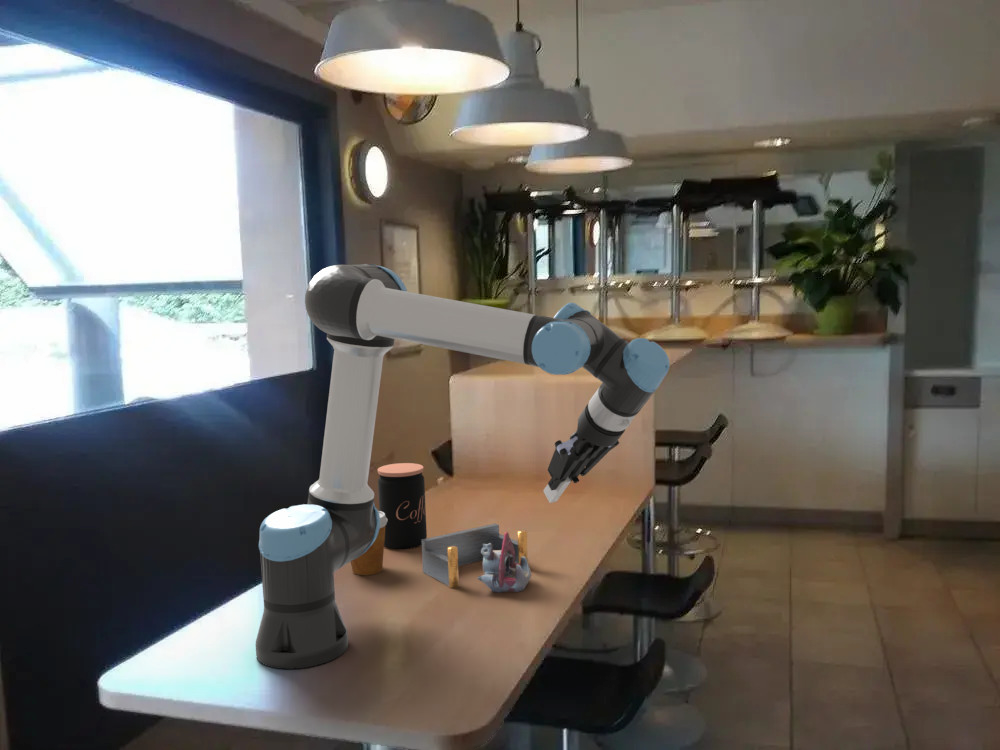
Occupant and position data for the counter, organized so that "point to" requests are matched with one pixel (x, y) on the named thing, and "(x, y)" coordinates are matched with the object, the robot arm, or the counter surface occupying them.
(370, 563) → the disposable coffee cup
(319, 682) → the counter surface
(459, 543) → the bracket
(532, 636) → the counter surface
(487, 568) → the brake caliper
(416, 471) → the coffee jar
